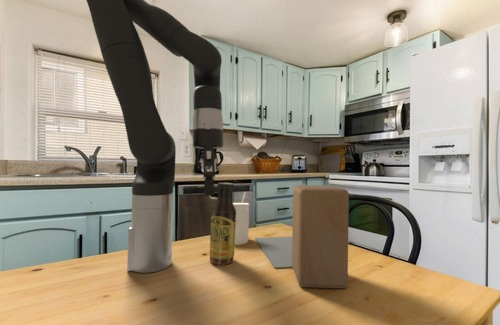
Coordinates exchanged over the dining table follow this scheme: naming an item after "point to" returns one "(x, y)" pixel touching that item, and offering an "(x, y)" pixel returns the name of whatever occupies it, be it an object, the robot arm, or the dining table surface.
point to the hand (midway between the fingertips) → (209, 193)
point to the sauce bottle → (223, 226)
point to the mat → (277, 250)
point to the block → (320, 236)
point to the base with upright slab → (241, 223)
